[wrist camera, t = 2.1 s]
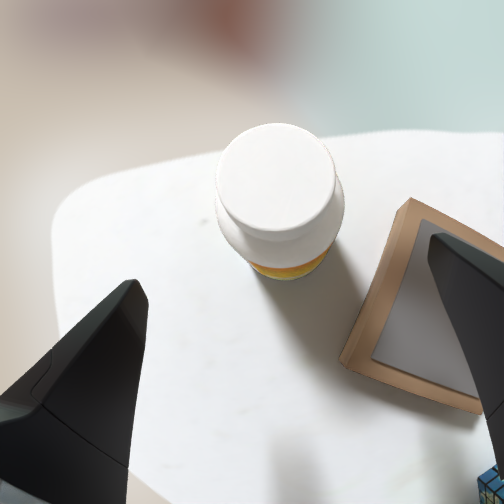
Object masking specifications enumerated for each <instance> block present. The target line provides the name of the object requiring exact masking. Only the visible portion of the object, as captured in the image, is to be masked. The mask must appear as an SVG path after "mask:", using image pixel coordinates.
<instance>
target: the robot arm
mask: <svg viewBox="0 0 504 504" xmlns="http://www.w3.org/2000/svg"><path fill="white" fill-rule="evenodd" d="M427 261H428V264H429V267H430V270H431V272H432V275H433V278H434V281H435V283H436V286H437V289H438V292H439V295H440V298H441V300H442V303H443V305H444V308H445V310H446V312H447V315H448V317H449V319H450V321H451V324H452V326H453V328H454V331H455V333H456V336H457V338H458V340H459V343H460V345H461V348H462V350H463V353H464V356H465V358H466V361H467V364H468V366H469V369H470V372H471V375H472V377H473V380H474V383H475V386H476V389H477V392H478V395H479V398H480V401H481V405H482V408H483V411H484V415H485V418H486V420H487V421H486V422H487V426H488V430H489V433H490V437H491V441H492V445H493V449H494V454H495V458H496V463H497V467H498V472H499V477H500V480H501V481H502V480H504V263H503V262H501V261H499V260H497V259H496V258H494V257H492V256H490V255H488V254H486V253H484V252H482V251H481V250H479V249H477V248H475V247H473V246H471V245H469V244H467V243H465V242H463V241H461V240H459V239H457V238H455V237H453V236H451V235H449V234H447V233H445V232H439V233H433V234H432V235H431V237H430V242H429V248H428V254H427ZM148 307H149V303H148V299H147V296H146V294H145V293H144V291H143V289H142V287H141V285H140V283H139V281H138V280H136V279H131V280H125V281H124V282H122V283H121V284H120V285H119V286H118V287H117V288H116V289H114V290H113V291H112V292H111V293H110V294H109V295H108V296H107V297H106V298H104V299H103V300H102V301H101V302H100V303H99V304H98V305H97V306H96V307H95V308H94V309H92V310H91V311H90V312H89V313H88V314H87V315H86V316H85V317H84V318H83V319H82V320H81V321H80V322H78V323H77V324H76V325H75V326H74V327H73V328H72V329H71V330H70V331H69V332H68V333H67V334H66V335H65V336H64V337H63V338H62V339H61V340H60V341H59V342H57V343H56V345H54V346H53V347H52V349H50V350H49V351H48V352H47V353H46V354H45V355H44V356H43V357H42V358H41V359H40V360H39V361H38V362H37V363H36V364H35V365H34V366H33V367H32V368H30V369H29V370H28V371H27V372H26V373H25V374H24V375H23V376H22V377H20V378H19V379H18V380H17V381H16V382H15V383H14V384H13V385H12V386H10V387H9V388H8V389H7V390H6V391H5V392H4V393H3V394H2V395H0V504H126V494H127V481H128V467H129V457H130V447H131V438H132V430H133V422H134V415H135V407H136V400H137V393H138V387H139V381H140V374H141V368H142V362H143V357H144V351H145V343H146V330H147V318H148Z"/></svg>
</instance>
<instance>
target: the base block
mask: <svg viewBox="0 0 504 504" xmlns="http://www.w3.org/2000/svg"><path fill="white" fill-rule="evenodd" d="M439 232H445V233H447V234H449V235H451V236H453V237H455V238H457V239H459V240H461V241H463V242H465V243H467V244H469V245H471V246H473V247H475V248H477V249H479V250H481V251H482V252H484V253H486V254H488V255H490V256H492V257H494V258H496V259H497V260H499V261H501V262H503V263H504V247H502V246H500V245H499V244H497V243H495V242H494V241H492V240H490V239H489V238H487V237H485V236H483V235H482V234H480V233H478V232H476V231H475V230H473V229H471V228H469V227H468V226H466V225H464V224H462V223H460V222H458V221H457V220H455V219H453V218H451V217H449V216H447V215H445V214H443V213H441V212H439V211H438V210H436V209H434V208H432V207H430V206H428V205H426V204H424V203H422V202H420V201H418V200H416V199H413V198H411V197H410V198H409V199H408V200H407V201H406V202H405V203H404V204H403V205H402V206H401V207H400V208H399V209H398V210H397V213H396V216H395V219H394V222H393V225H392V228H391V231H390V234H389V237H388V240H387V243H386V246H385V248H384V251H383V254H382V257H381V260H380V262H379V265H378V268H377V270H376V273H375V276H374V278H373V281H372V283H371V286H370V288H369V291H368V293H367V296H366V298H365V301H364V303H363V306H362V308H361V310H360V313H359V315H358V317H357V320H356V322H355V324H354V327H353V329H352V331H351V333H350V336H349V338H348V340H347V342H346V344H345V347H344V349H343V351H342V353H341V355H340V357H339V359H338V360H339V361H340V362H341V363H342V364H343V366H344V367H345V368H347V369H350V370H352V371H355V372H357V373H360V374H362V375H365V376H367V377H370V378H373V379H375V380H378V381H380V382H383V383H386V384H389V385H391V386H394V387H397V388H399V389H402V390H405V391H408V392H411V393H413V394H416V395H419V396H422V397H425V398H428V399H431V400H434V401H437V402H440V403H443V404H446V405H449V406H452V407H455V408H458V409H461V410H465V411H468V412H471V413H474V414H478V415H481V414H482V412H483V408H482V405H481V401H480V398H479V395H478V392H477V389H476V386H475V383H474V380H473V377H472V375H471V372H470V369H469V366H468V364H467V361H466V358H465V356H464V353H463V350H462V348H461V345H460V343H459V340H458V338H457V336H456V333H455V331H454V328H453V326H452V324H451V321H450V319H449V317H448V315H447V312H446V310H445V308H444V305H443V303H442V300H441V298H440V295H439V292H438V289H437V286H436V283H435V281H434V278H433V275H432V272H431V270H430V267H429V264H428V261H427V254H428V248H429V242H430V237H431V235H432V234H433V233H439Z"/></svg>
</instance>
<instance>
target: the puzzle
mask: <svg viewBox="0 0 504 504" xmlns="http://www.w3.org/2000/svg"><path fill="white" fill-rule="evenodd" d="M478 488H479V496H480V504H504V480H502V481H501V480H500V477H499V472H498V467H497V464H496V465H495V466H494V467H493V468H491V469H489V470H488V471H487V472H485V473H484V474H482V475H481V476H479V477H478Z"/></svg>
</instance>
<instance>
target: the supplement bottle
mask: <svg viewBox="0 0 504 504" xmlns="http://www.w3.org/2000/svg"><path fill="white" fill-rule="evenodd" d="M216 188H217V194H216V202H215V208H216V216H217V220H218V224H219V227H220V229H221V231H222V233H223V235H224V237H225V238H226V240H227V241H228V243H229V244H230V245H231V246H232V247H233V249H234V250H235V251H236V252H238V253H239V254H240V255H241V256H242V257H243V258H244V259H245V260H246V261H247V262H248V263H249V264H250V265H251V266H252V267H253V268H254V269H255V270H256V271H258V272H259V273H261V274H262V275H264V276H267V277H269V278H272V279H276V280H294V279H298V278H301V277H303V276H305V275H307V274H309V273H310V272H312V271H313V270H314V269H315V268H316V267H317V266H318V265H319V264H320V263H321V262H322V260H323V259H324V257H325V256H326V254H327V252H328V250H329V248H330V247H331V245H332V243H333V241H334V239H335V238H336V236H337V234H338V232H339V229H340V227H341V223H342V220H343V215H344V205H345V203H344V193H343V189H342V186H341V183H340V180H339V178H338V176H337V174H336V171H335V166H334V162H333V160H332V157H331V155H330V153H329V151H328V150H327V148H326V147H325V146H324V144H323V143H322V142H321V141H320V140H319V139H318V138H317V137H315V136H314V135H313V134H311V133H309V132H308V131H306V130H304V129H302V128H299V127H296V126H293V125H288V124H279V123H277V124H276V123H273V124H265V125H261V126H257V127H254V128H252V129H249V130H247V131H245V132H243V133H242V134H240V135H239V136H238V137H237V138H235V139H234V140H233V141H232V142H231V143H230V144H229V145H228V147H227V148H226V149H225V151H224V152H223V154H222V156H221V158H220V160H219V163H218V166H217V171H216Z"/></svg>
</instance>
